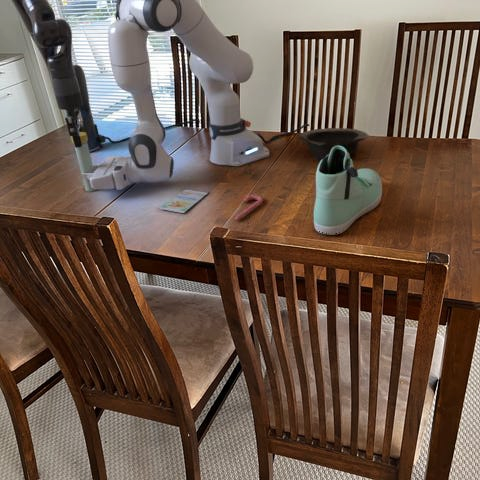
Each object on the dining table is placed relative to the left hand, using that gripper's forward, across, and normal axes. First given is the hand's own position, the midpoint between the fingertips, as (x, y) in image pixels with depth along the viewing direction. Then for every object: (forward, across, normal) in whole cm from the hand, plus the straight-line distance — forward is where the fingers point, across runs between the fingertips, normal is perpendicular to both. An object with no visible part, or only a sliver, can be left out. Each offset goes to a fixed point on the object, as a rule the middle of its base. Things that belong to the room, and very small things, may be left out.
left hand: (80, 142), depth 155 cm
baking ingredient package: (+16, +19, +31) cm, 40 cm away
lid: (-2, 0, 0) cm, 2 cm away
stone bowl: (+16, -4, +86) cm, 88 cm away
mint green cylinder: (+16, 0, 0) cm, 16 cm away
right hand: (+10, 0, -1) cm, 10 cm away
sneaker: (+16, +38, +77) cm, 88 cm away
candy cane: (+16, +30, +49) cm, 60 cm away
